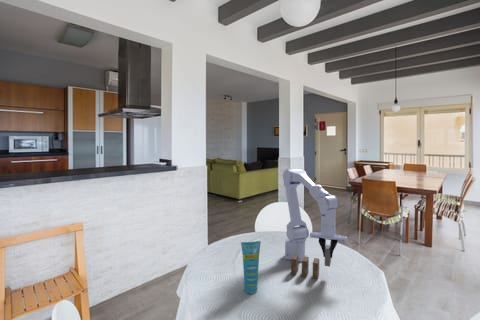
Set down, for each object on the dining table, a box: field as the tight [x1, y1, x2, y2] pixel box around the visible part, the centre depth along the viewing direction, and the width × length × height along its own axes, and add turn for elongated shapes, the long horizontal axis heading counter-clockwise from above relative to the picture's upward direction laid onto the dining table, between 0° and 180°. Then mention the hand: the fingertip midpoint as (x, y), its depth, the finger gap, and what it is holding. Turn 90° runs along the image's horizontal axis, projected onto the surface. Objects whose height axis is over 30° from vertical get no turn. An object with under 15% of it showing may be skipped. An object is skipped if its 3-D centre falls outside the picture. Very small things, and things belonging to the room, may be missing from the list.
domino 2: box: [301, 255, 310, 279], centre depth 109 cm, size 2×5×7 cm, turn 155°
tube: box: [240, 240, 261, 295], centre depth 96 cm, size 7×5×19 cm, turn 103°
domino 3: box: [312, 257, 320, 281], centre depth 107 cm, size 2×5×7 cm, turn 155°
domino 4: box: [324, 244, 332, 267], centre depth 106 cm, size 2×5×7 cm, turn 155°
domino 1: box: [290, 254, 299, 276], centre depth 111 cm, size 2×5×7 cm, turn 155°
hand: (327, 256), depth 106 cm, fingers closed on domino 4, 2 cm apart
